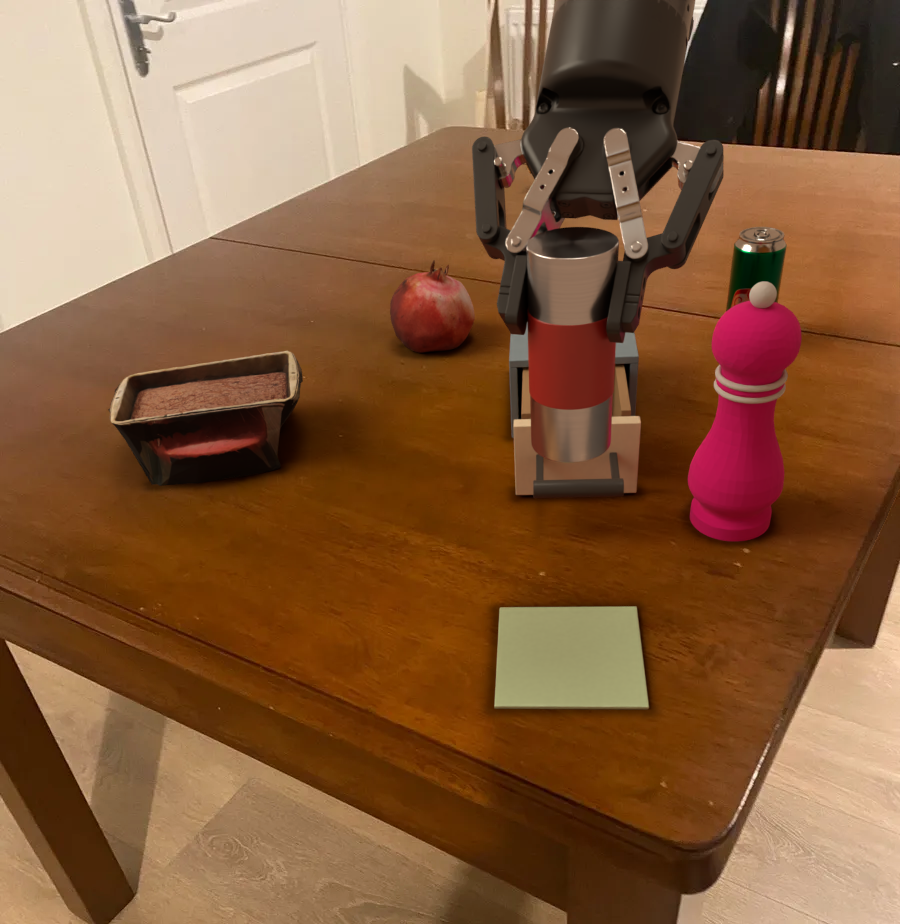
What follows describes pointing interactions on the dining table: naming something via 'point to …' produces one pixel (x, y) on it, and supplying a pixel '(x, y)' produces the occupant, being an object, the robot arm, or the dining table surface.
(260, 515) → the dining table surface
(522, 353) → the cabinet
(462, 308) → the fruit
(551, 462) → the drawer
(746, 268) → the soda can
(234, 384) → the baking dish
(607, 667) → the tile
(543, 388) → the tin
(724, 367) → the pepper mill
